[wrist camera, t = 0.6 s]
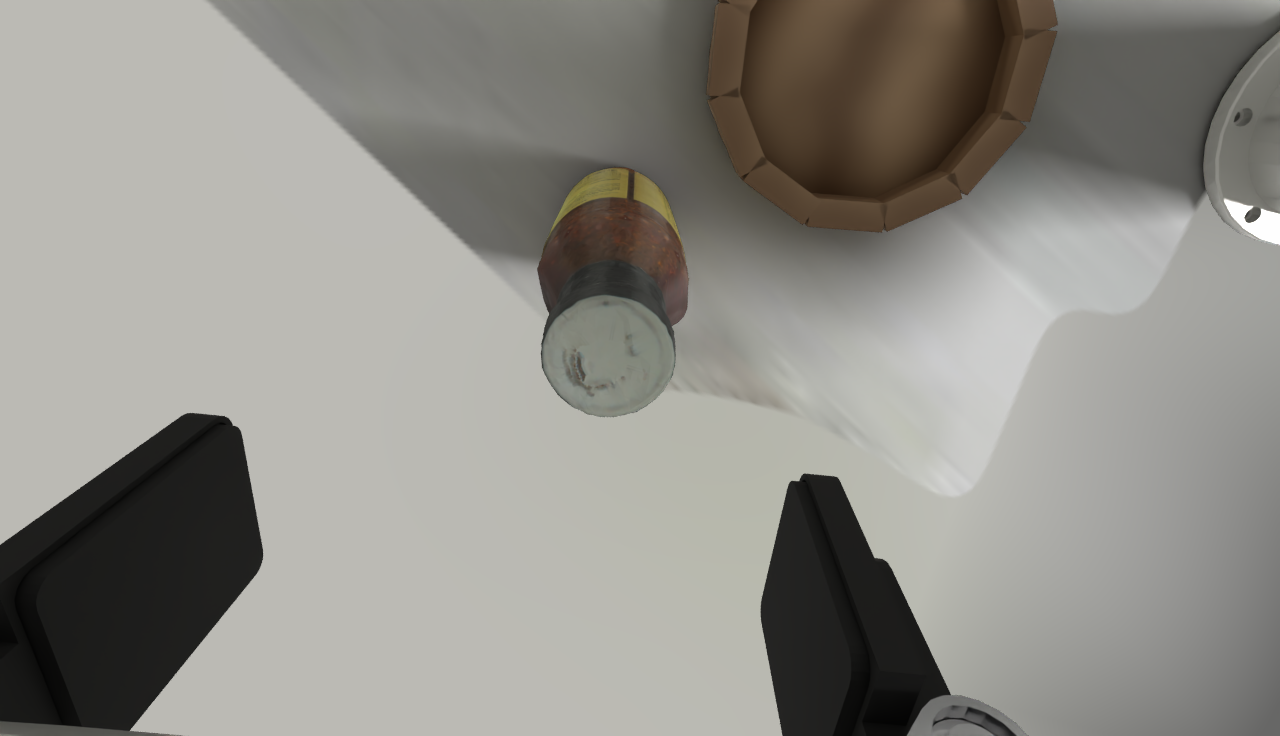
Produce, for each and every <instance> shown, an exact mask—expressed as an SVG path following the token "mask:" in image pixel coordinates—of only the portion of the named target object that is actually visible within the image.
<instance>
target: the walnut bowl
mask: <svg viewBox="0 0 1280 736" xmlns="http://www.w3.org/2000/svg"><path fill="white" fill-rule="evenodd" d="M718 1H719V2H720V3H718V4H717V6H716V7H715V16H714V26H713V34H712V40H711V46H710V52H709V71H708V81H707V90H706V95H709V96H710V99H708V100H707V102H708V104H709V107H710V109H711V112H712V114H713V117H714V119H715V122H716V124H717V127H718V130H719V133H720V136H721V138H722V140H723V142H724V144H725V146H726V149H727V151H728V154H729V156H730V159H731V161H732V164H733V166H734V168H735V171H736V173H737V174H738V175H739V177H740V178H741V179H742V180H743V181H744V182H745V183H747V184H748V185H749V186H751V187H752V188H753V189H755V190H756V191H757V192H759V193H760V194H762V195H763V196H764V197H766V198H767V199H768V200H770V201H771V202H772V203H774V204H775V205H776V206H778V207H779V208H781V209H782V210H783V211H785V212H786V213H787V214H789V215H790V216H791V217H793V218H794V219H795V220H797V221H798V222H800V223H801V224H802V225H803V224H805V225H806V226H807V227H819V228H831V229H844V230H856V231H869V232H882V230H883V229H884V230H886V231H887V232H888V231H890V230H892V229H894V228H897V227H899V226H901V225H903V224H906V223H908V222H910V221H913V220H915V219H917V218H919V217H922V216H924V215H926V214H928V213H931V212H933V211H935V210H937V209H940V208H942V207H944V206H947V205H949V204H951V203H953V202H956V201H958V200H960V199H962V196H961V193H963V194H965V195H968V193H969V192H970V191H971V190H972V189H973V188H974V187H975V185H976V184H977V183H978V182H979V181H980V180H981V179H982V177H983V176H984V175H985V174H986V173H987V172H988V171H989V170H990V168H991V167H992V166H993V165H994V164H995V163H996V162H997V160H998V159H999V158H1000V157H1001V156H1002V155H1003V154H1004V152H1005V151H1006V150H1007V149H1008V148H1009V147H1010V146H1011V145H1012V143H1013V142H1014V141H1015V140H1016V139H1017V138H1018V137H1019V135H1020V134H1021V133H1022V132H1023V131H1024V130H1025V129H1026V126H1024V125H1023V124H1022V123H1021V122H1020V121H1026V122H1030V119H1031V116H1032V113H1033V109H1034V106H1035V103H1036V100H1037V96H1038V93H1039V90H1040V86H1041V83H1042V80H1043V77H1044V73H1045V70H1046V67H1047V63H1048V60H1049V57H1050V54H1051V50H1052V47H1053V44H1054V40H1055V37H1056V34H1057V31H1049V30H1048V29H1050V28H1052V27H1054V26H1056V25H1058V23H1057V18H1056V13H1055V8H1054V3H1053V0H718Z"/></svg>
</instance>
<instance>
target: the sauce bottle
mask: <svg viewBox="0 0 1280 736" xmlns="http://www.w3.org/2000/svg"><path fill="white" fill-rule="evenodd" d="M537 271H538V275H539V280H540V285H541V290H542V294H543V298H544V302H545V304H546V307H547V310H548V312H549V316H548V319H547V322H546V325H545V328H544V333H543V340H542V343H541V344H542V350H541V360H542V368H543V371H544V373H545V375H546V377H547V379H548V381H549V383H550V384H551V386H552V387H553V389H554V390H555V391H556V393H557V394H558V395H559V396H560V397H561V398H562V399H563V400H564V401H566V402H567V403H568V404H569V405H571V406H572V407H574V408H576V409H578V410H581V411H583V412H584V413H586V414H589V415H594V416H599V417H616V416H621V415H626V414H629V413H634V412H637V411H639V410H640V409H642V408H644V407H645V406H647V405H648V404H650V403H651V402H652V401H654V400H655V399H656V398H657V397H658V396H659V395H660V394H661V393H662V392H663V391H664V389H665V387H666V385H667V384H668V382H669V381H670V380H671V377H672V375H673V370H674V367H675V356H676V354H675V339H674V331H673V329H672V326H673V325H674V324H676V323H678V322H679V321H680V320H681V319H682V318H683V317H684V315H685V313H686V310H687V303H688V281H689V277H688V272H687V266H686V259H685V254H684V250H683V246H682V243H681V239H680V236H679V233H678V229H677V226H676V223H675V221H674V217H673V214H672V211H671V209H670V206H669V203H668V201H667V199H666V197H665V196H664V194H663V193H662V191H661V190H660V189H659V187H658V186H657V185H656V184H655V183H654V182H652V181H651V180H650V179H649V178H647V177H646V176H644V175H642V174H640V173H638V172H635V171H634V170H632V169H629V168H622V167H614V168H606V169H604V170H600V171H597V172H593V173H591V174H589V175H587V176H586V177H585V178H584V179H582V180H581V181H580V182H579V183H578V184H577V185H576V186H575V187H574V188H573V189H572V190H571V191H570V193H569V194H568V196H567V197H566V199H565V202H564V204H563V206H562V208H561V210H560V212H559V214H558V216H557V218H556V220H555V222H554V224H553V227H552V229H551V231H550V234H549V236H548V238H547V240H546V243H545V246H544V249H543V253H542V258H541V261H540V263H539V266H538V268H537Z"/></svg>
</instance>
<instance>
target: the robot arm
mask: <svg viewBox="0 0 1280 736" xmlns="http://www.w3.org/2000/svg"><path fill="white" fill-rule="evenodd" d="M1203 171H1204V179H1205V188H1206V191H1207V193H1208V196H1209V198H1210V201H1211V204H1212V206H1213V208H1214V209H1215V210H1216V212H1217V213H1218V215H1219V216H1220V217H1221V219H1222V220H1223V221H1224V222H1225V223H1226V224H1228V225H1229V226H1230V227H1232V228H1233V229H1234V230H1236V231H1237V232H1238V233H1241V234H1243V235H1245V236H1248V237H1250V238H1252V239H1255V240H1258V241H1262V242H1266V243H1270V244H1274V245H1279V246H1280V31H1279V32H1278V33H1276V34H1275V35H1274V36H1273V37H1272V38H1271V39H1270V40H1269V41H1268V42H1266V43H1265V44H1264V45H1263V46H1262V47H1261V48H1260V49H1259V50H1258V51H1257V52H1256V53H1255V54H1254V55H1253V57H1252V58H1251V59H1250V60H1249V61H1248V62H1247V64H1246V65H1245V66H1244V67H1243V68H1242V69H1241V71H1240V72H1239V73H1238V74H1237V76H1236V78H1235V79H1234V81H1233V82H1232V84H1231V85H1230V87H1229V88H1228V90H1227V91H1226V93H1225V95H1224V96H1223V98H1222V100H1221V102H1220V105H1219V107H1218V109H1217V111H1216V113H1215V115H1214V118H1213V120H1212V122H1211V126H1210V129H1209V133H1208V137H1207V140H1206V144H1205V152H1204V163H1203ZM262 560H263V548H262V542H261V537H260V532H259V527H258V521H257V516H256V510H255V504H254V499H253V493H252V488H251V482H250V477H249V472H248V466H247V460H246V455H245V450H244V444H243V439H242V434H241V431H240V429H239V428H238V427H236V426H233V425H232V422H231V421H230V420H229V418H227V417H225V416H217V415H207V414H197V413H196V414H195V413H187V414H185V415H183V416H181V417H180V418H178V419H177V420H176V421H174V422H172V423H171V424H170V425H168V426H167V427H166V428H164V429H163V430H161V431H160V432H158V433H157V434H156V435H154V436H153V437H151V438H150V439H149V440H147V441H146V442H144V443H143V444H141V445H140V446H139V447H137V448H136V449H134V450H133V451H132V452H130V453H129V454H127V455H126V456H125V457H123V458H122V459H120V460H119V461H118V462H116V463H115V464H113V465H112V466H111V467H109V468H108V469H106V470H105V471H103V472H102V473H101V474H99V475H98V476H96V477H95V478H94V479H92V480H91V481H89V482H88V483H87V484H85V485H84V486H82V487H81V488H80V489H78V490H77V491H75V492H74V493H73V494H71V495H70V496H69V497H67V498H66V499H64V500H63V501H62V502H60V503H59V504H57V505H56V506H54V507H53V508H51V509H50V510H49V511H47V512H46V513H44V514H43V515H42V516H40V517H39V518H37V519H36V520H35V521H33V522H32V523H30V524H29V525H28V526H26V527H25V528H23V529H22V530H20V531H19V532H18V533H17V534H15V535H14V536H12V537H11V538H9V539H8V540H6V541H5V542H4V543H2V544H1V545H0V736H181V735H169V734H158V733H146V732H134V731H130V730H131V728H132V727H133V726H134V725H135V723H136V722H137V721H138V720H139V718H140V717H141V716H142V715H143V713H144V712H145V711H146V710H147V708H148V707H149V706H150V705H151V703H152V702H153V701H154V700H155V699H156V697H157V696H158V695H159V694H160V692H161V691H162V690H163V689H164V687H165V686H166V685H167V684H168V683H169V681H170V680H171V679H172V678H173V676H174V675H175V674H176V673H177V671H178V670H179V669H180V667H182V665H183V664H184V663H185V662H186V660H187V659H188V658H189V656H190V655H191V654H192V653H193V652H194V650H195V649H196V648H197V647H198V646H199V644H200V643H201V642H202V641H203V639H204V638H205V637H206V636H207V634H208V633H209V632H210V631H211V630H212V628H213V627H214V626H215V625H216V623H217V622H218V621H219V619H220V618H221V617H222V616H223V615H224V613H225V612H226V611H227V610H228V608H229V607H230V606H231V605H232V604H233V602H234V601H235V600H236V599H237V597H238V596H239V595H240V594H241V592H242V591H243V590H244V589H245V587H246V586H247V585H248V584H249V583H250V581H251V580H252V579H253V578H254V576H255V575H256V574H257V572H258V570H259V569H260V566H261V563H262ZM761 622H762V628H763V633H764V638H765V643H766V649H767V655H768V660H769V665H770V670H771V676H772V681H773V686H774V692H775V697H776V703H777V708H778V713H779V719H780V724H781V730H782V735H783V736H1028V735H1027V734H1026V733H1025V732H1024V731H1023V730H1022V729H1021V728H1020V726H1018V724H1017V723H1015V722H1014V721H1013V720H1011V719H1010V718H1008V717H1007V716H1006V715H1004V714H1003V713H1002V712H1000V711H999V710H997V709H995V708H993V707H991V706H989V705H987V704H985V703H983V702H981V701H979V700H976V699H971V698H968V697H965V696H961V695H951V694H950V692H949V690H948V688H947V685H946V683H945V681H944V679H943V677H942V675H941V673H940V671H939V668H938V666H937V664H936V662H935V660H934V658H933V656H932V654H931V652H930V649H929V647H928V645H927V643H926V641H925V639H924V637H923V635H922V632H921V630H920V628H919V626H918V624H917V622H916V620H915V618H914V616H913V613H912V611H911V609H910V607H909V605H908V603H907V601H906V599H905V596H904V594H903V593H902V590H901V588H900V586H899V584H898V582H897V580H896V577H895V575H894V573H893V571H892V569H891V567H890V566H889V564H888V563H887V562H886V561H885V560H883V559H878V558H874V556H873V554H872V552H871V549H870V547H869V545H868V543H867V541H866V538H865V536H864V534H863V532H862V530H861V527H860V525H859V523H858V520H857V518H856V516H855V514H854V511H853V509H852V507H851V505H850V502H849V500H848V498H847V496H846V494H845V491H844V489H843V487H842V485H841V482H840V481H839V479H838V478H837V477H834V476H824V475H814V474H803V475H802V476H801V478H800V481H791V482H790V483H789V486H788V489H787V493H786V497H785V502H784V506H783V510H782V514H781V519H780V523H779V528H778V531H777V536H776V540H775V544H774V549H773V553H772V557H771V561H770V566H769V570H768V574H767V579H766V583H765V587H764V591H763V596H762V601H761Z"/></svg>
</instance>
